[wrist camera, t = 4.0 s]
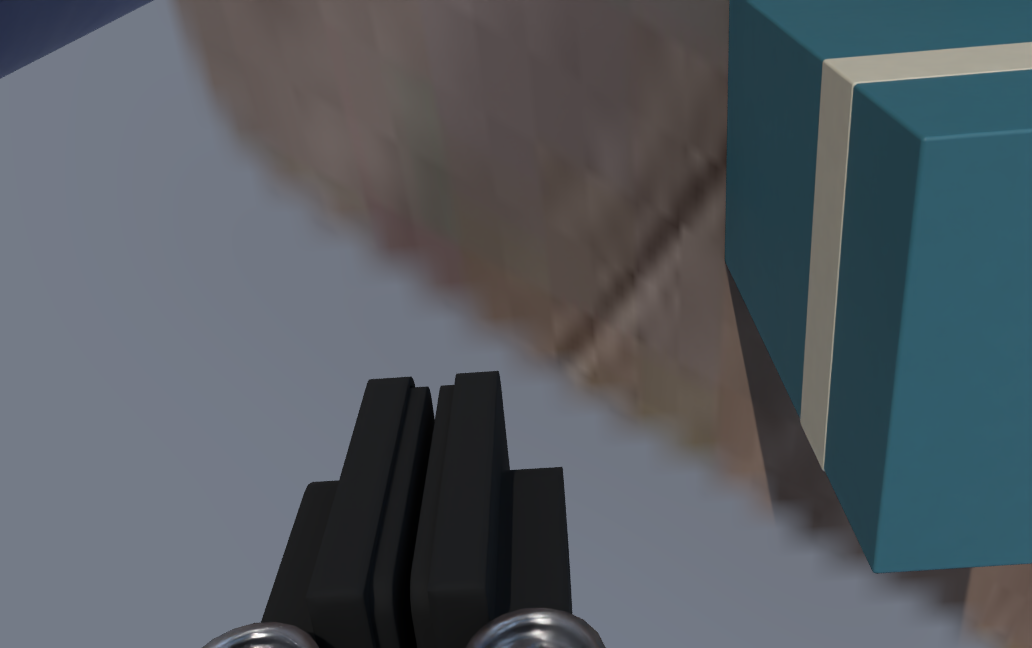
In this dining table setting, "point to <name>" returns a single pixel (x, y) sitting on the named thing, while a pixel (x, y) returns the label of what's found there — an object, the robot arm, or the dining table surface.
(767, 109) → the carton
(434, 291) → the dining table surface
